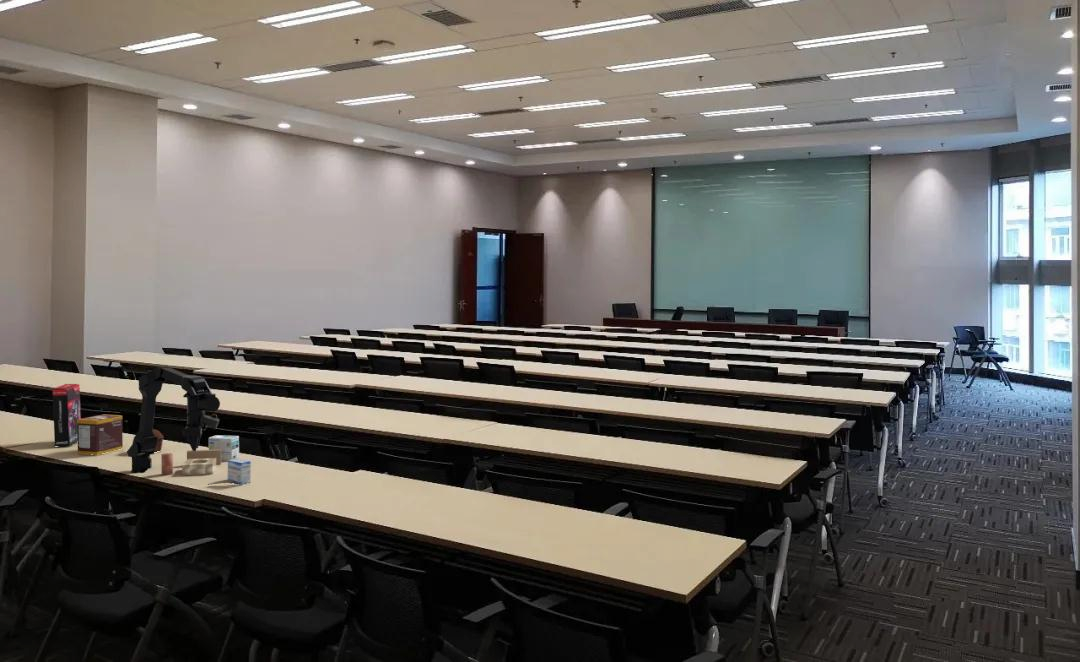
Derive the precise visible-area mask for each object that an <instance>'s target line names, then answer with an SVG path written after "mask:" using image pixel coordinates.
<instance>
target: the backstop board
mask: <svg viewBox="0 0 1080 662" xmlns="http://www.w3.org/2000/svg"><path fill="white" fill-rule="evenodd" d="M204 458H216V466H218V465H219V466H220V465H221V466H222V461H221V449H219V450H209V449H196V451H193V450H192V449H191V450H188V449H187V450H186V460H187V459H204Z"/></svg>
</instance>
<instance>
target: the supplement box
mask: <svg viewBox="0 0 1080 662" xmlns="http://www.w3.org/2000/svg"><path fill="white" fill-rule="evenodd" d="M77 434H78V442H77V454H78V453H79V454H78V455H82V454H93V455H92V456H94V455H98V454H102V453H106V452H110V451H114V450H118V449H121V448H123V447H124V446H123V434H124V433H123V415H119V414H104V413H103V414H99V415H93V416H89V417H83V418H82V417H81V419H78V420H77ZM123 449H124V448H123ZM118 451H119V450H118ZM114 452H115V451H114ZM110 453H111V452H110ZM106 454H107V453H106ZM102 455H103V454H102ZM98 456H99V455H98Z"/></svg>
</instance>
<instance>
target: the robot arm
mask: <svg viewBox="0 0 1080 662" xmlns="http://www.w3.org/2000/svg"><path fill="white" fill-rule="evenodd" d="M166 381H170V382H172V383H175V384H177V385H179V386H180V387H181V389H182V390H183V391H185V394H184V395H183V396H182V397H183V398H186V402H187V403H186V413H185V415H186V419H187V420H186V422H187V423H185V424H186V425H185V428H184V429H182V436H184V437H185V438H186V441H187V442H188V445H189V446H190V448H191V450H193V451H196V450H197V449H198V448H199V446H200V440H201V438H202V435H203V433H204V432H205V431H206V429H207V428H208V427H209V428H211V429H214V430H215V429H217V427H218V425H219V423H220V418H218V414H215V413H214V412H216V411H218V410H219V408H220V406H221V402H220V399H219V398H218V397H217V395H216V393H213V392H212V390H211V388H210V387H209V385H208V383H207V381H206V379H205V377H204V376H200V375H191V374H190V375H189V374H187V373H185V372H184V373H183V372H181V371H180V370H176V369H174V368H172V367H170V366H168V365H163V366H162V365H161V366H157V367H155V368H154V369H153V370H151V371H149V372H146V373H145V374H143V375H141V376H140V377H139V378H138V390H139V392H140V394H141V396H142V397H141V406H140V416H139V427H138V431H137V432H136V434H135V435H134V436H133V438H132V444H131V445H130V446H129V448H128V449H127V451H126V454H127V457H129V458H131V470H130V473H136V472H135V471H146V472H147V471H148V469H152V467H153V466H152V465H153V460H152V459H153V458H152V457H151V455H154V454H155V453H154V451H155V448H156V446H157V439H158V437H157V436H155V435H154V433H153V429H154V422H155V420H154V419H155V411H156V410H155V409H156V401H157V396H158V395H159V393H161V391H162V388H163V384H164V383H166ZM206 412H213V414H211V415H206Z"/></svg>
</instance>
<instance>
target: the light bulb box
mask: <svg viewBox="0 0 1080 662" xmlns="http://www.w3.org/2000/svg"><path fill="white" fill-rule="evenodd" d="M219 449H221V462H226V461H227V462H228V461H229V460H233V459H239V460H240V436H239V435H218V434H217V435H213V436H210V437H208V450H219Z"/></svg>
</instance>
